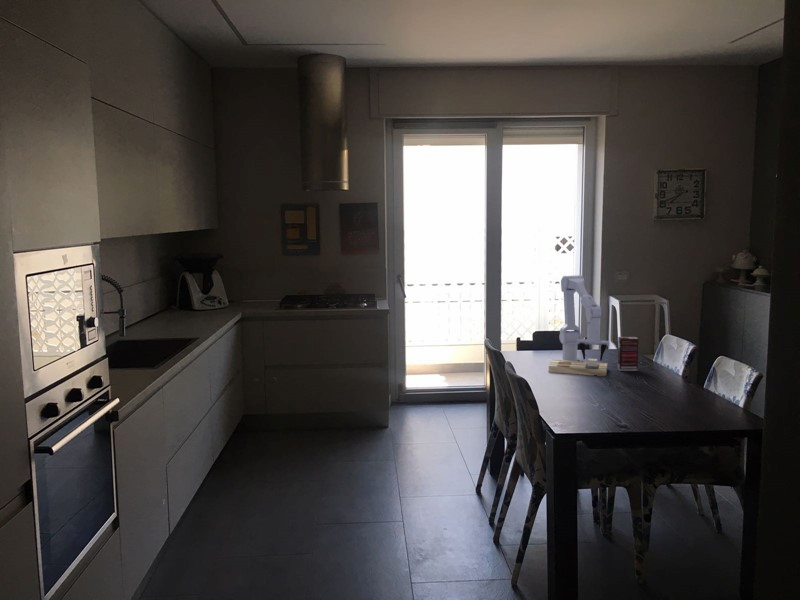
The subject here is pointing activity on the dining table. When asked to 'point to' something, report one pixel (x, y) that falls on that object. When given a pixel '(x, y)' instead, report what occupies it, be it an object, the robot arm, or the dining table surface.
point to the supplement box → (628, 353)
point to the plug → (592, 362)
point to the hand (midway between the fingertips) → (592, 359)
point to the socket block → (577, 367)
